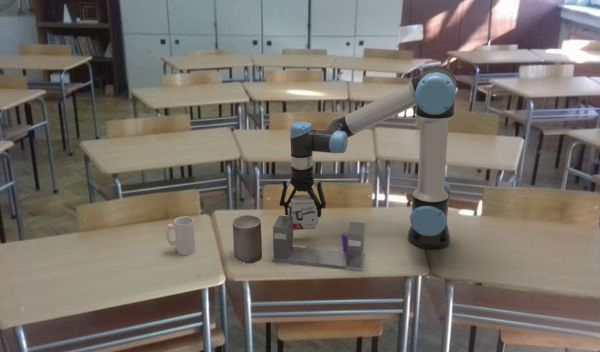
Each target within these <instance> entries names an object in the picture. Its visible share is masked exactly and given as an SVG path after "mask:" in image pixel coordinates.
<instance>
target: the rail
mask: <svg viewBox="0 0 600 352" xmlns="http://www.w3.org/2000/svg"><path fill="white" fill-rule="evenodd" d="M365 228H366V223H365V222H359V221H350V222H349V226H348V231H347V252H345V251H344V250H332V249H324V248H313V247H312V248H311V247H304V246H303V247H302V246H301V247H300V246H294V230H293V217H291V216H288V215H278V216H277V218H276V220H275V222H274V224H273V227H272V238H273V239H272V240H273V241H272V245H273V246H272V247H273V249H272V251H273V252H272V253H273V255H272V258H271V263H276V264H277V263H279V264H280V263H281V264H287V265H289V264H290V265H298V266H299V265H300V266H308V267H318V268H327V269H328V268H329V269H338V270H349V271H357V272H359V271H360V272H363V270H364V263H365V258H366V253H364V250H365V234H366V233H365V230H366V229H365Z"/></svg>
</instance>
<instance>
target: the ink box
mask: <svg viewBox="0 0 600 352" xmlns="http://www.w3.org/2000/svg"><path fill="white" fill-rule="evenodd" d="M290 205H291V217H293V231H298V230H315V229H316V226H315V209H316V206H315V204H314V200H312V199H311V197H310V195H309V194H308V193H307V194H295V195H294V196H293V198H292V199H291V202H290Z"/></svg>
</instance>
